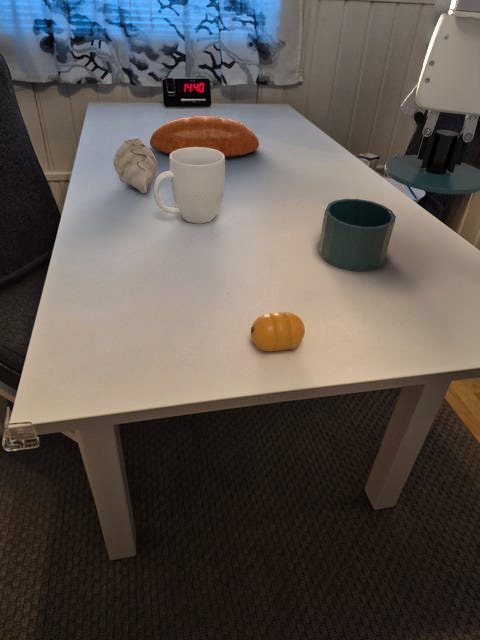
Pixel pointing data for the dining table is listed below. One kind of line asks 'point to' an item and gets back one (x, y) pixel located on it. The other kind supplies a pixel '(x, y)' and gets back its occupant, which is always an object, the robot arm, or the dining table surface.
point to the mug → (194, 183)
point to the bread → (205, 135)
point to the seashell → (135, 164)
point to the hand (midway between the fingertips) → (436, 165)
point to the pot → (356, 234)
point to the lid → (435, 169)
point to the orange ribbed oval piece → (277, 331)
